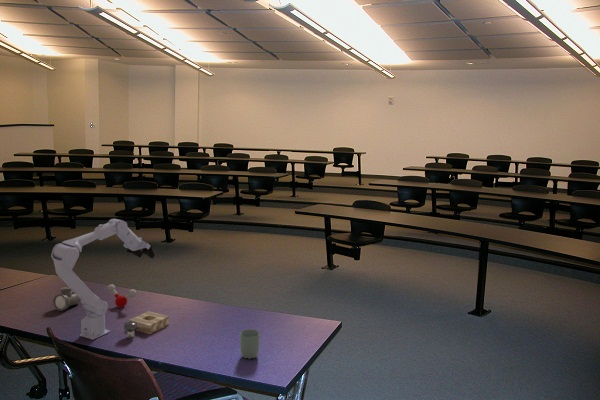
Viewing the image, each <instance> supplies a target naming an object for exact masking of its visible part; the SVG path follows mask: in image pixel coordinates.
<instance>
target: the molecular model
mask: <svg viewBox="0 0 600 400" xmlns="http://www.w3.org/2000/svg"><path fill="white" fill-rule="evenodd" d="M107 291H108V292H110V293H112V294H113V296H114V297H115V301H114V302H115V305H116V307H118V308H123V307H125V306H126V305H127V303H128V299H130V298H135V297H136V296H137V291H136V290H135V289H129V290H128V294H125V295H119V293H118V291H116V286H115V285H114V284H109V285H108V286H107Z"/></svg>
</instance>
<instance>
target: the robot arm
mask: <svg viewBox="0 0 600 400" xmlns="http://www.w3.org/2000/svg"><path fill="white" fill-rule="evenodd" d="M115 235H116V236H117V237H118V238H119V239H120V240H121V241H122V242H123V243H124V244H123V245H122V246H123V247H124V248H125V249H126V253H129V254H133V255H135V256H136V257H138V258H142V256H143V255H146V256H148V257H149V258H150V259H154V257H155V253H154V251H153V246H152V243H151V242H146V241H144V240H142V239H143V238H142V237H138V235H136V234H135V232H133V230H131V229H130V228H129V227H128V222H127V221H125V220H123V219H117V218H110V219H109V220H108V221H107V223H104V224H103V223H102V224H98V226H96V227H95V228H94V231H91V232H89V233H86V234H85V233H84V234H83V235H80V236H77V237H74V238H71V239H67V240H63V241H62V242H61V243H57V244H55V245H54V247H52V251H51V255H50V257H51V259H52V260H53V265H54V268H55V274H56V275H57V276H58V277H59V278H60V279H61V280H62V282H64V283H65V285H67V287H70V288H71V289H72V290H73V292H74V293H75V294H76V295H77V296H78V297H79V298H80V299H81V301H80V303H81V304H82V307H83V310H85V313H86V315H85V316H84V317H83V318H82V319H81V321H80V334H79V336H80V337H83V338H86V339H89V340H96V339H97V338H99V337H102V336H104V335H106V334H109V333H111V330H109V329H106V313H107V312H108V309H109V304H108V302H107V301H105V300H102V299H101V298H100V297H99V296H98V295H96V294H95V293H93V292H92V291H91V290H90V288H89V287H88V286H87V284H85V282H83V281H82V280H81V279H80V277H79V276H78V275H77V274H76V273H75V272H74V270H73V269H74V267H75V265H76V263H77V260H78V258H79V257H80V253H82V251H83V250H82V249H83V247H84V246H85V245H89V244H90V243H92V242H94V241H95V240H100V241H103V240H105V239H108V238H110V237H111V236H115Z"/></svg>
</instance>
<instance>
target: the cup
mask: <svg viewBox="0 0 600 400" xmlns="http://www.w3.org/2000/svg"><path fill="white" fill-rule="evenodd" d="M260 336H261V334H260V331H259V330H257V329H252V328H251V329H250V328H247V329H244V330H241V331H240V332H239V350H240V354H241V356H242V357H243V358H244V359H246V358H248V359H247V360H252V359H251V358H253V359H255V358H257V356H258V355H259V353H260V352H259V351H260V343H261V341H260V339H261V337H260Z"/></svg>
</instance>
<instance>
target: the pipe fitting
mask: <svg viewBox="0 0 600 400" xmlns="http://www.w3.org/2000/svg"><path fill="white" fill-rule="evenodd" d="M52 303H53V306H54V308H55V310H57V311H59V312H64V311H66V310H67V309H68V308H70V307H71V306H76V305H78V304H80V303H81V299H80V298H79V297H78V296H77V295H76V294H75V293H74V292H73V290H72V289H71V288H70V287H69V286H65V287H61V288H60V293H57V294H55V295H54V296H53V301H52Z"/></svg>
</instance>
